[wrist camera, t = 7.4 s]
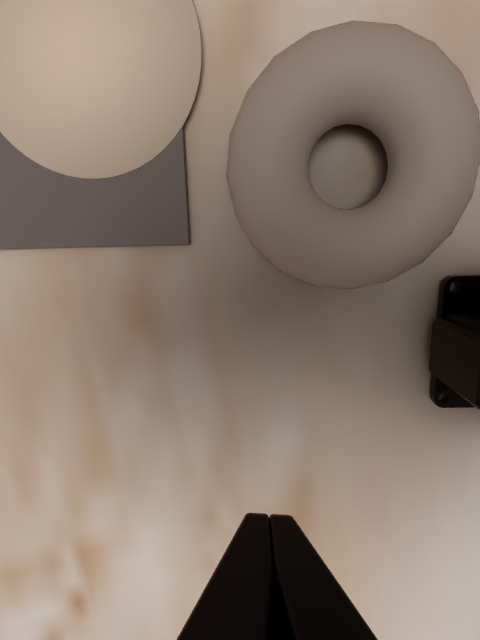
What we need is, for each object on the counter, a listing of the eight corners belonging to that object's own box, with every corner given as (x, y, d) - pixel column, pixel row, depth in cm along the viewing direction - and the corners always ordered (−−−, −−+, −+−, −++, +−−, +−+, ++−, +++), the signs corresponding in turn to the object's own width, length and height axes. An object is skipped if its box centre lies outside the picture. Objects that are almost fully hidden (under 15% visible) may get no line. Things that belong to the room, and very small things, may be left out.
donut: (184, 159, 17) (317, 326, 18) (166, 139, 14) (331, 345, 15) (365, -7, 15) (497, 189, 17) (396, -78, 12) (559, 176, 13)
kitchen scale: (192, -187, 14) (190, -202, 14) (211, 243, 18) (209, 243, 17) (-209, -157, 15) (-225, -171, 14) (-113, 252, 18) (-124, 252, 18)
